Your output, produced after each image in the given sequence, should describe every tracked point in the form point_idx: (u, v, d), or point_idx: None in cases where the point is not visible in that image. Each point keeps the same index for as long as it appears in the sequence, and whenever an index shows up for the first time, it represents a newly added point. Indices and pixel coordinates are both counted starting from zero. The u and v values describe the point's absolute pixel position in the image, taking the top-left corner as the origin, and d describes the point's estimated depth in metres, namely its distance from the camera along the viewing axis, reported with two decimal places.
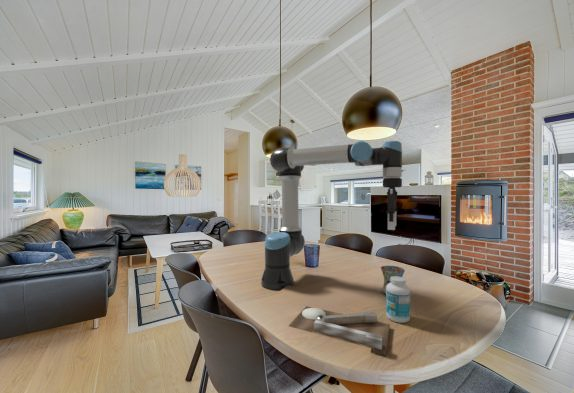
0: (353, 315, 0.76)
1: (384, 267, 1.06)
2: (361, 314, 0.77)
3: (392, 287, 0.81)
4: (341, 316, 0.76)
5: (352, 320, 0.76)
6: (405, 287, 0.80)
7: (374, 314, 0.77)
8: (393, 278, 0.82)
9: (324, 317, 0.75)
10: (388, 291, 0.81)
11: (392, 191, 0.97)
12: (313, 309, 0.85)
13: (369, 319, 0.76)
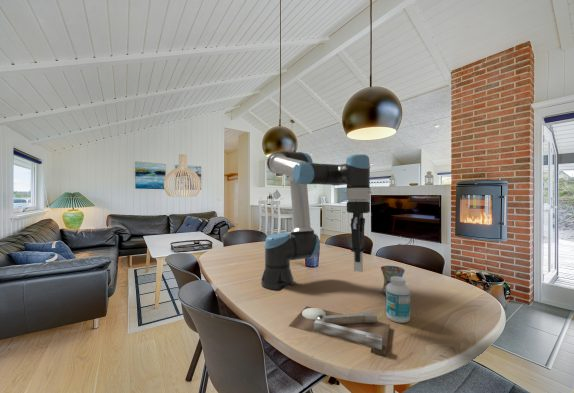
0: (353, 315, 0.76)
1: (384, 267, 1.06)
2: (361, 314, 0.77)
3: (392, 287, 0.81)
4: (341, 316, 0.76)
5: (352, 320, 0.76)
6: (405, 287, 0.80)
7: (374, 314, 0.77)
8: (393, 278, 0.82)
9: (324, 317, 0.75)
10: (388, 291, 0.81)
11: (356, 227, 0.77)
12: (313, 309, 0.85)
13: (369, 319, 0.76)
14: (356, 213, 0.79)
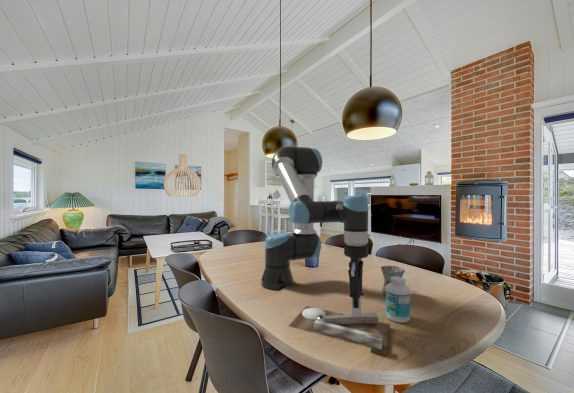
0: (353, 316, 0.76)
1: (384, 267, 1.06)
2: (362, 315, 0.76)
3: (392, 287, 0.81)
4: (341, 316, 0.75)
5: (352, 321, 0.75)
6: (405, 287, 0.80)
7: (375, 315, 0.76)
8: (393, 278, 0.82)
9: (324, 317, 0.75)
10: (388, 291, 0.81)
11: (354, 275, 0.73)
12: (313, 309, 0.85)
13: (370, 320, 0.75)
14: (354, 258, 0.75)
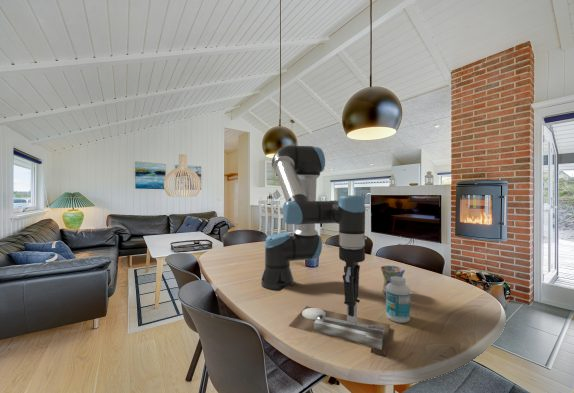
0: (355, 324, 0.71)
1: (384, 267, 1.06)
2: (365, 326, 0.70)
3: (392, 287, 0.81)
4: (342, 322, 0.72)
5: None
6: (405, 287, 0.80)
7: (380, 330, 0.68)
8: (393, 278, 0.82)
9: (324, 318, 0.74)
10: (388, 291, 0.81)
11: (349, 280, 0.67)
12: (313, 309, 0.85)
13: (373, 333, 0.68)
14: (349, 263, 0.70)
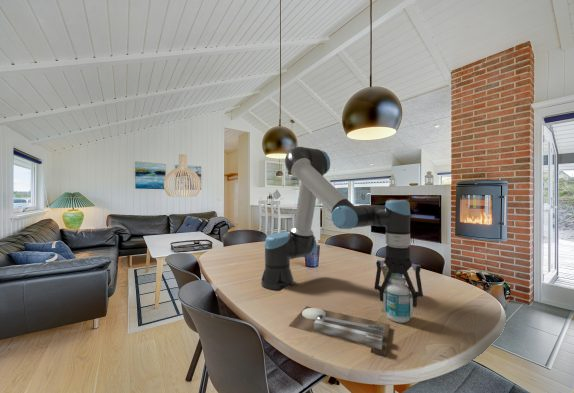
0: (355, 324, 0.71)
1: (384, 267, 1.06)
2: (365, 326, 0.70)
3: (392, 286, 0.81)
4: (342, 322, 0.72)
5: None
6: (405, 287, 0.80)
7: (380, 330, 0.68)
8: (393, 278, 0.82)
9: (324, 318, 0.74)
10: (388, 291, 0.81)
11: None
12: (313, 309, 0.85)
13: (373, 333, 0.68)
14: None
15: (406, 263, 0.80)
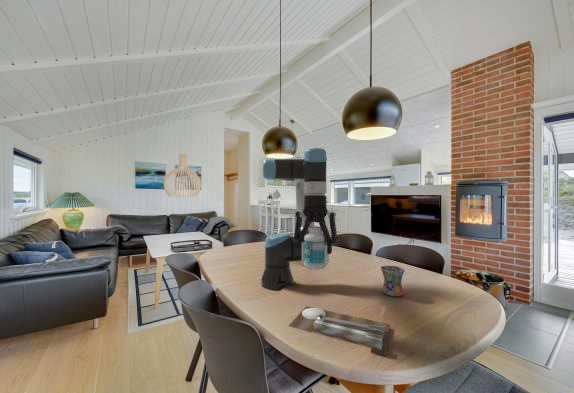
0: (355, 324, 0.71)
1: (384, 267, 1.06)
2: (365, 326, 0.70)
3: (308, 234, 0.81)
4: (342, 322, 0.72)
5: None
6: (320, 234, 0.80)
7: (380, 330, 0.68)
8: (310, 227, 0.82)
9: (324, 318, 0.74)
10: (304, 239, 0.81)
11: None
12: (313, 309, 0.85)
13: (373, 333, 0.68)
14: None
15: (321, 211, 0.80)
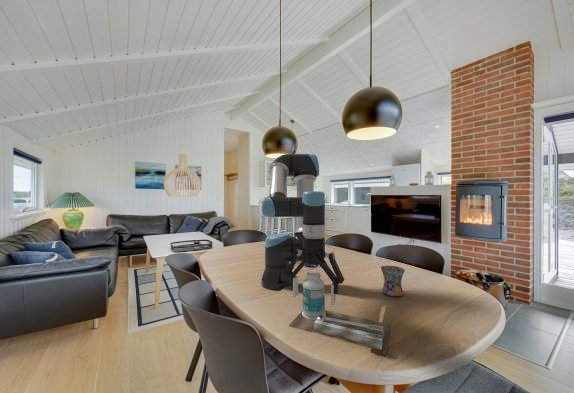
0: (355, 324, 0.71)
1: (384, 267, 1.06)
2: (365, 326, 0.70)
3: (306, 282, 0.81)
4: (342, 322, 0.72)
5: None
6: (318, 282, 0.80)
7: (380, 330, 0.68)
8: (309, 273, 0.82)
9: (324, 318, 0.74)
10: (303, 286, 0.81)
11: None
12: None
13: (373, 333, 0.68)
14: None
15: (319, 254, 0.80)
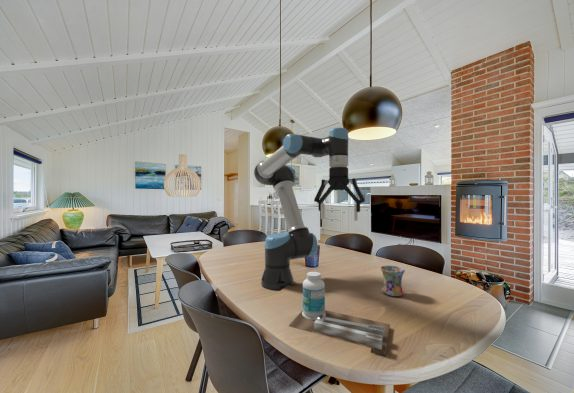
0: (355, 324, 0.71)
1: (384, 267, 1.06)
2: (365, 326, 0.70)
3: (306, 282, 0.81)
4: (342, 322, 0.72)
5: None
6: (319, 282, 0.80)
7: (380, 330, 0.68)
8: (309, 273, 0.82)
9: (324, 318, 0.74)
10: (303, 286, 0.81)
11: None
12: None
13: (373, 333, 0.68)
14: None
15: (344, 180, 0.96)
